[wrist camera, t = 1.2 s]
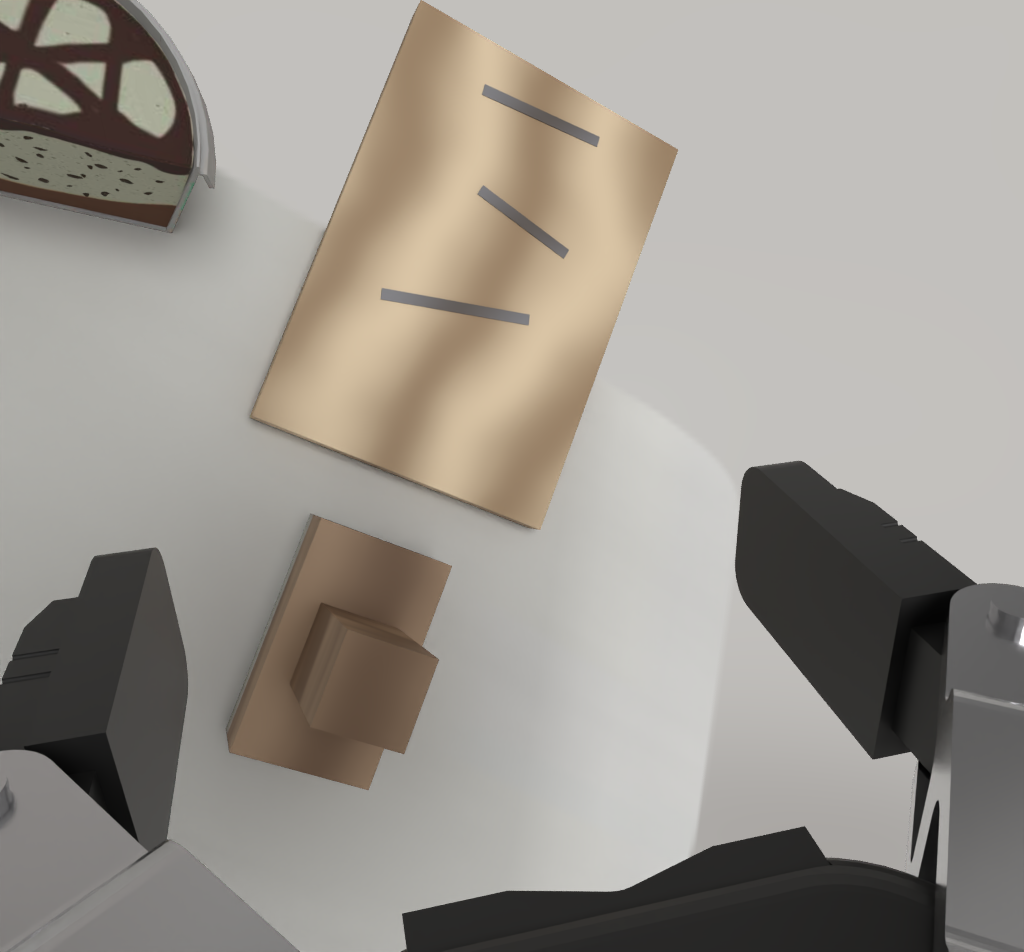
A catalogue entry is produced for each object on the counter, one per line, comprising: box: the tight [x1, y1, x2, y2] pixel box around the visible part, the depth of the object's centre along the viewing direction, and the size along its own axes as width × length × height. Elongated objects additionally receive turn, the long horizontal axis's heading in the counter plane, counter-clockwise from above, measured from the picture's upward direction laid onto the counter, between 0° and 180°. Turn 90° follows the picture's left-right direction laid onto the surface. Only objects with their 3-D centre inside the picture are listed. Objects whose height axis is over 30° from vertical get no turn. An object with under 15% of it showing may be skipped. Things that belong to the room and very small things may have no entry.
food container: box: [0, 0, 216, 233], centre depth 33 cm, size 12×6×10 cm, turn 82°
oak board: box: [250, 0, 678, 530], centre depth 42 cm, size 14×20×2 cm
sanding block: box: [226, 514, 452, 790], centre depth 37 cm, size 6×10×10 cm, turn 159°
